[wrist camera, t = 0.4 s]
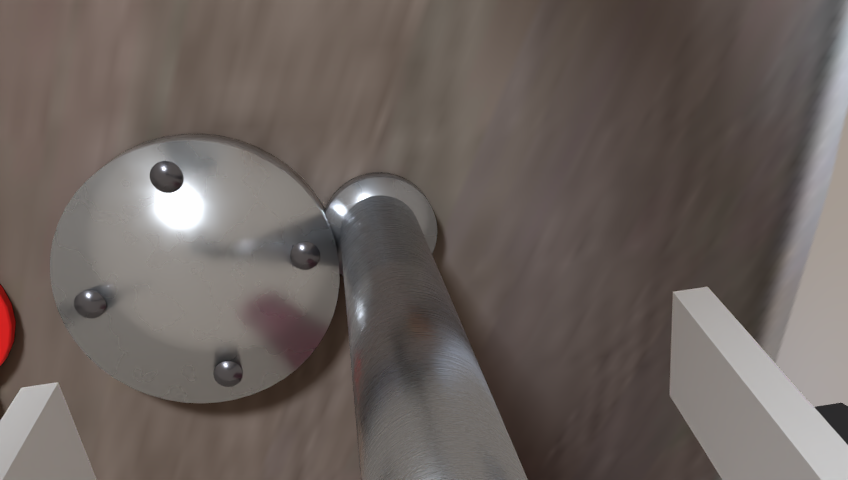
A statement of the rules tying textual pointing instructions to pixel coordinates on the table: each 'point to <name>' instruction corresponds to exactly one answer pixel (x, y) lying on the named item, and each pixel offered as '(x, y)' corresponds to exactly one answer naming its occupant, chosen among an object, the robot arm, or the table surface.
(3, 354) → the tow hook
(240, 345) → the paper towel holder
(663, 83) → the table surface
